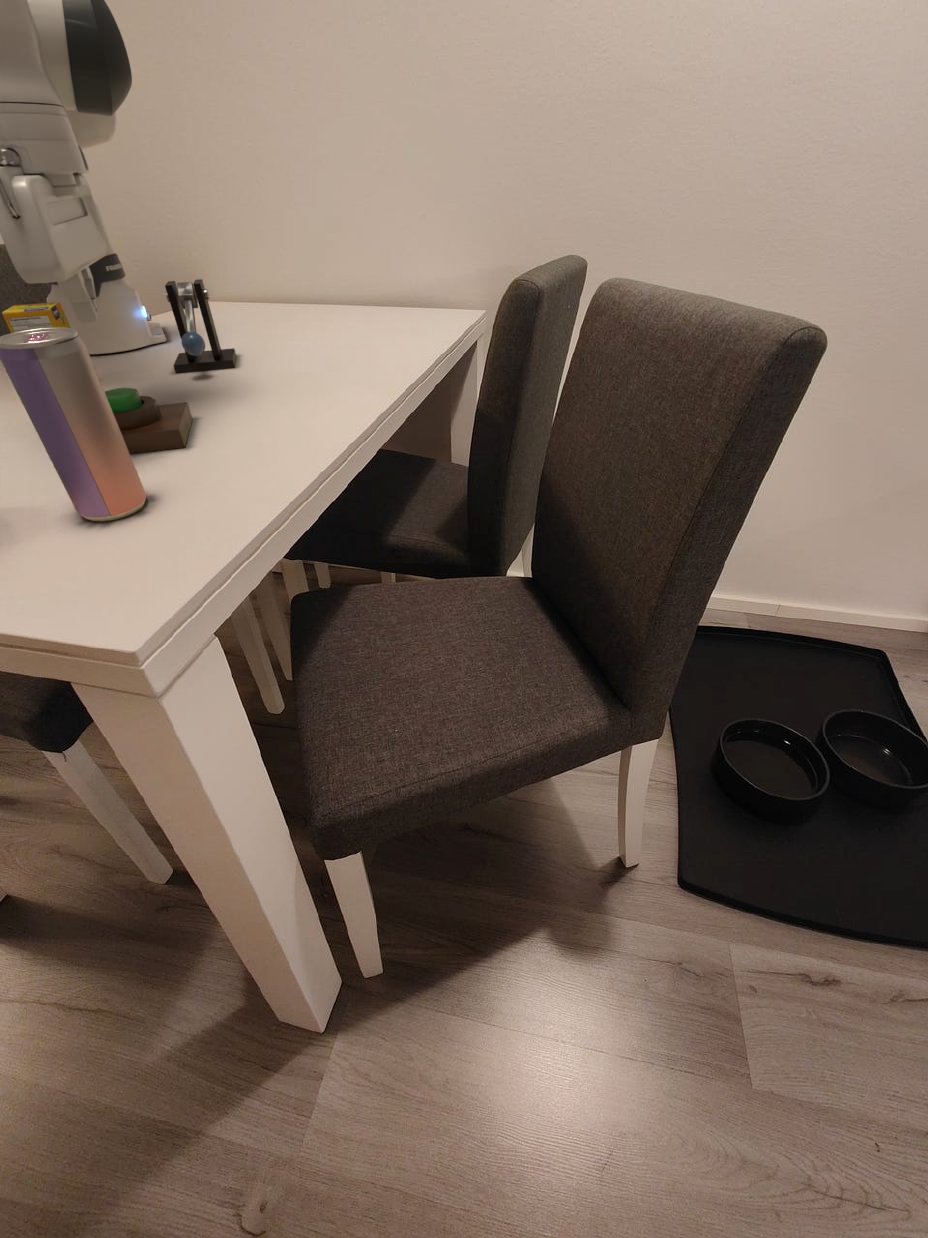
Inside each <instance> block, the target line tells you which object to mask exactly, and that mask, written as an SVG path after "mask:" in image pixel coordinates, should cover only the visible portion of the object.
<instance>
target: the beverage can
mask: <svg viewBox="0 0 928 1238" xmlns="http://www.w3.org/2000/svg"><path fill="white" fill-rule="evenodd" d="M0 362H1V364H2V366H3V368H4V370H5V371H6V373H7V376H8V377H9V379H10V382H11V383H12V386H13V388H14V389H15V391H16V394H17V395H18V397H19V400H20V401H21V404H22V405H23V408H24V409H25V412H26V414H27V416H28V418H29V419H30V421H31V423H32V425H33V428H34V429H35V432H36V434H37V435H38V438H39V439H40V441H41V444H42V445H43V447H44V449H45V452H46V453H47V455H48V457H49V459H50V461H51V463H52V465H53V468H54V469H55V471H56V474H57V475H58V477H59V479H60V481H61V483H62V485H63V487H64V489H65V491H66V493H67V496H68V497H69V499H70V501H71V503H72V505H73V507H74V510H75V511H76V513H77V514H79V515H80V516H81V517H83V518H84V519H86V520H88V521H91V522H92V521H93V522H109V521H110V522H111V521H116V520H119V519H124V518H127V517H128V516H131V515H133V514H135V513H136V512H138V511H139V510H141V509H142V508H143V507H144V505H145V503H146V498H147V494H146V490H145V488H144V485H143V483H142V481H141V480H142V479H141V478H140V476H139V473H138V471H137V468H136V466H135V463H134V461H133V459H132V455H131V454H130V453H129V451H128V448H127V446H126V443H125V441H124V439H123V436H122V434H121V431H120V429H119V426H118V424H117V421H116V419H115V416H114V414H113V412H112V409H111V407H110V404H109V402H108V399H107V397H106V394H105V390H104V386H103V385H102V382H101V380H100V376H98V375H99V374H98V372H97V370H96V367H95V365H94V363H93V360H92V358H91V354H89V353H88V350H87V348H86V345H85V344H84V343H83V341H82V340H81V339H80V338H79V336H78V332H77V331H76V330H75V329H72V328H64V327H55V328H40V329H32V330H25V331H20V332H15V333H11V332H10V333H7V334H4V335H1V336H0Z"/></svg>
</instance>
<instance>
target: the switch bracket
mask: <svg viewBox="0 0 928 1238" xmlns="http://www.w3.org/2000/svg"><path fill="white" fill-rule="evenodd" d="M192 283H193V286H194V289H195V292H196V296H197V302H198V308H199V310H200V313H201V318H202V321H203V325H204V328H205V332H206V336H207V338H208V342H209V346H210V349H211V350H210V349H209V350H204V352H203V353H202V354H200V355H197V356H194V355H191V354H189V353H187V352H186V351H185V350H184V352H179V353H178V354H177V356H176V359H175V360H174V364H173V369H174V371H175V373H176V374H180V373H182V374H183V373H191V372H192V373H193V372H202V371H212V370H225V369H233V368H235V367H236V362H237V353H236V349H235V348H223V349H222V348H221V344H220V341H219V337H218V333H217V329H216V325H215V322H214V318H213V314H212V311H211V307H210V302H209V300H210V294H209V291H208V289H207V288H205V284H204V281H203V279H202V278H197V279H195V280H194V281H193V282H192ZM164 288H165V297H166V300H167V302H168V303H169V304H170V308H171V310H172V314H173V318H174V320H175V324H176V327H177V331H178V333H179V336H180V340H181V341H182V337H183V335H184V334H185V333H187V323H186V315H185V309H183V306H182V304H181V301H180V299H179V296H178V288H177V282H176V281H175V280H168V281H167V283H166V284H165V285H164Z"/></svg>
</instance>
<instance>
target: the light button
mask: <svg viewBox="0 0 928 1238" xmlns="http://www.w3.org/2000/svg"><path fill="white" fill-rule="evenodd" d="M104 392H105V394H106V397H107V399H108V402H109V404H110V407H111V409H112V412H117V411H126V410H130V409H134V408H137V407H139V406H141V405H143V404H142V402H141V399H140V396H141V395H140V393H139V390H138V389H137V388H134V387H118V388H111V389H108V390H104Z"/></svg>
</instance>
